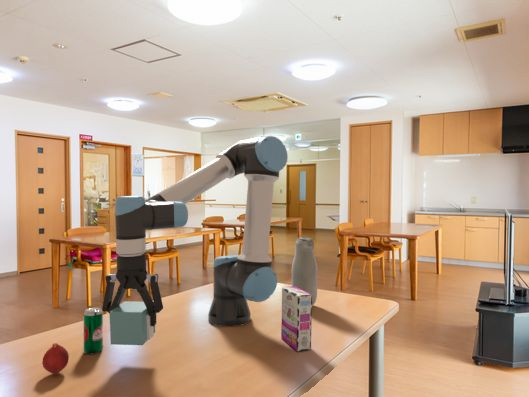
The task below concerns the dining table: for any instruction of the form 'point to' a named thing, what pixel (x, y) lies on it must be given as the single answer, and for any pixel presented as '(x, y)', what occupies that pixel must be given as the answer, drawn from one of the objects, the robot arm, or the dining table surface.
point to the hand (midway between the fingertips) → (133, 337)
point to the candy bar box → (296, 318)
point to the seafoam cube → (129, 324)
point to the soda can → (93, 330)
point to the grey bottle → (305, 267)
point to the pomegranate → (55, 359)
